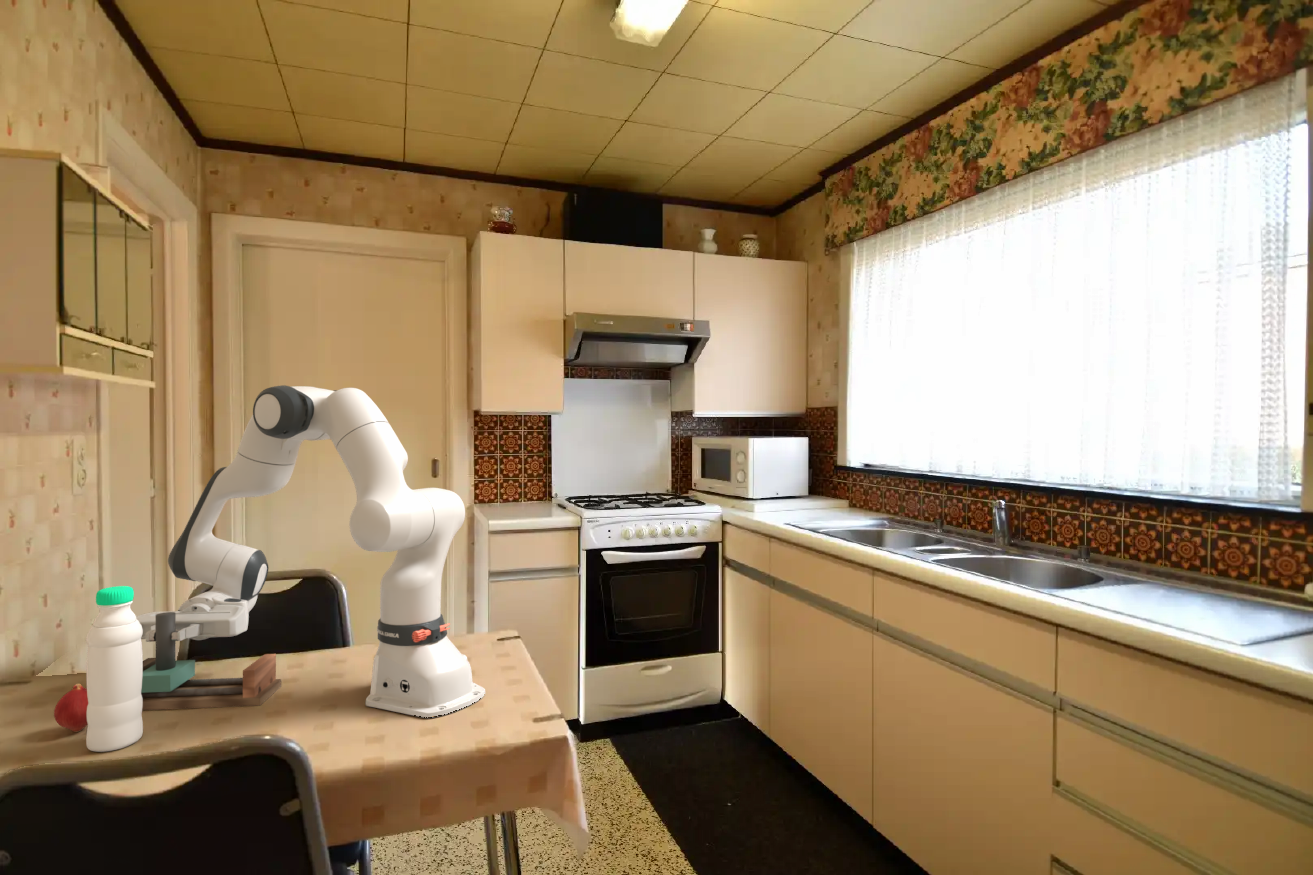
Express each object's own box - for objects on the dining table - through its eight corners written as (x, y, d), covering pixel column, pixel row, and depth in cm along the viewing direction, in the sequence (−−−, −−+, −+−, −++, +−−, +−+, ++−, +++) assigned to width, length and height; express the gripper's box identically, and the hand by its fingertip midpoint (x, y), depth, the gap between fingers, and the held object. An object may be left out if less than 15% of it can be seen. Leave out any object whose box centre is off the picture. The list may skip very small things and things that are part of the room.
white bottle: (75, 748, 106) (75, 590, 105) (124, 730, 112) (124, 581, 112) (104, 757, 103) (104, 595, 103) (153, 737, 110) (153, 585, 109)
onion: (52, 731, 112) (52, 683, 112) (96, 720, 116) (96, 674, 116) (56, 742, 108) (56, 693, 108) (102, 730, 112) (102, 683, 112)
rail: (281, 686, 132) (281, 653, 132) (260, 705, 123) (260, 669, 123) (148, 691, 129) (148, 657, 129) (116, 711, 120) (116, 675, 120)
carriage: (194, 675, 129) (194, 608, 129) (170, 691, 121) (170, 619, 121) (161, 676, 128) (161, 608, 128) (134, 692, 120) (134, 620, 120)
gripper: (148, 602, 136) (101, 621, 122) (255, 599, 139) (221, 618, 125) (148, 633, 136) (101, 656, 123) (255, 630, 139) (221, 652, 125)
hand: (162, 637), depth 124 cm, fingers closed on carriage, 3 cm apart
